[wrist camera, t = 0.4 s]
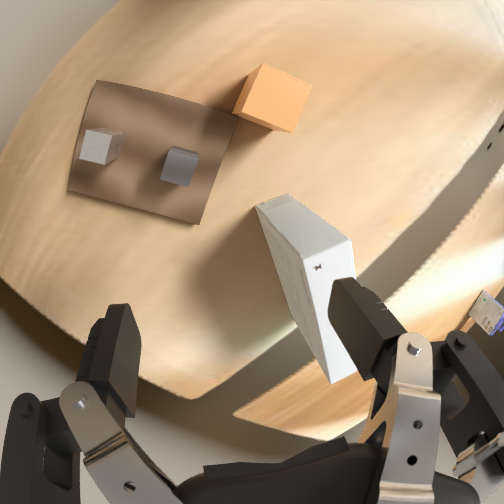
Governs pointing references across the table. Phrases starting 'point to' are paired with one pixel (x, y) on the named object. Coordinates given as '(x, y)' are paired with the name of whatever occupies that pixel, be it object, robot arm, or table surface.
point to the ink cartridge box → (488, 313)
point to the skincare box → (309, 274)
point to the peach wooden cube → (272, 99)
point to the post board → (153, 151)
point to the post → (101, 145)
